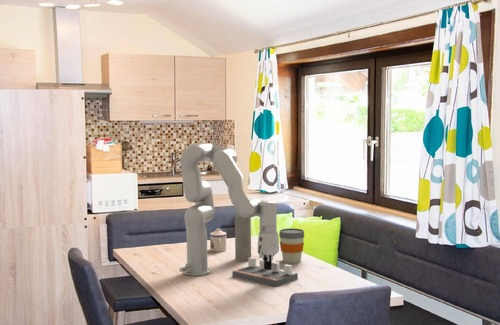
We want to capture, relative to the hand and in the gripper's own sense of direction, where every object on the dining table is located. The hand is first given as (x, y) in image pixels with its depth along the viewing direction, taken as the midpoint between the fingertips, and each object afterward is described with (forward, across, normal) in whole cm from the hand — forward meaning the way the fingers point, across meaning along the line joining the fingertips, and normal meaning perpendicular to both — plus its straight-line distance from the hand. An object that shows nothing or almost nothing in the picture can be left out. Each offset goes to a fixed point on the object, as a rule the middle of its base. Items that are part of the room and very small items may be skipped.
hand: (267, 269), depth 282 cm
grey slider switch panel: (+5, +1, +3) cm, 5 cm away
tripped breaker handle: (+2, +5, -1) cm, 5 cm away
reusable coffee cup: (+5, +34, +13) cm, 37 cm away
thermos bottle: (+5, +20, +33) cm, 39 cm away
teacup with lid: (+5, +26, +56) cm, 62 cm away
